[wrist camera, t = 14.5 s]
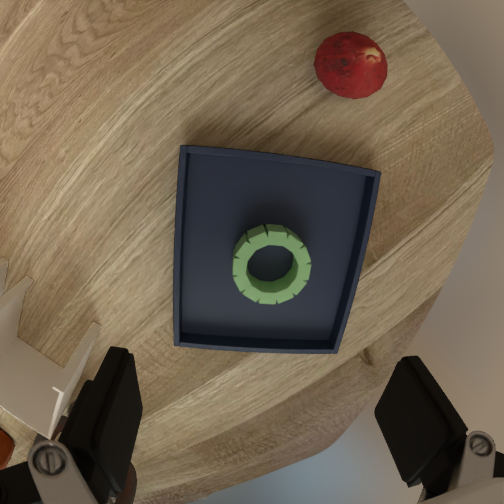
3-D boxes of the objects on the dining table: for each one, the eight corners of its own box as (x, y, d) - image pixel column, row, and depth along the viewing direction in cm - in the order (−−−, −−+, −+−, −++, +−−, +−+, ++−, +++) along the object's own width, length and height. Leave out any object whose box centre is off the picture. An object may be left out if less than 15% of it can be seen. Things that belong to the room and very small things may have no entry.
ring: (310, 228, 28) (317, 235, 26) (298, 294, 30) (303, 306, 28) (236, 220, 28) (236, 228, 25) (229, 289, 30) (229, 301, 28)
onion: (315, 108, 25) (346, 96, 17) (297, 49, 23) (321, 18, 15) (372, 98, 25) (418, 88, 17) (355, 43, 23) (394, 16, 15)
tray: (371, 169, 27) (381, 171, 25) (332, 342, 33) (337, 353, 31) (184, 144, 25) (180, 145, 23) (176, 333, 32) (173, 346, 30)
